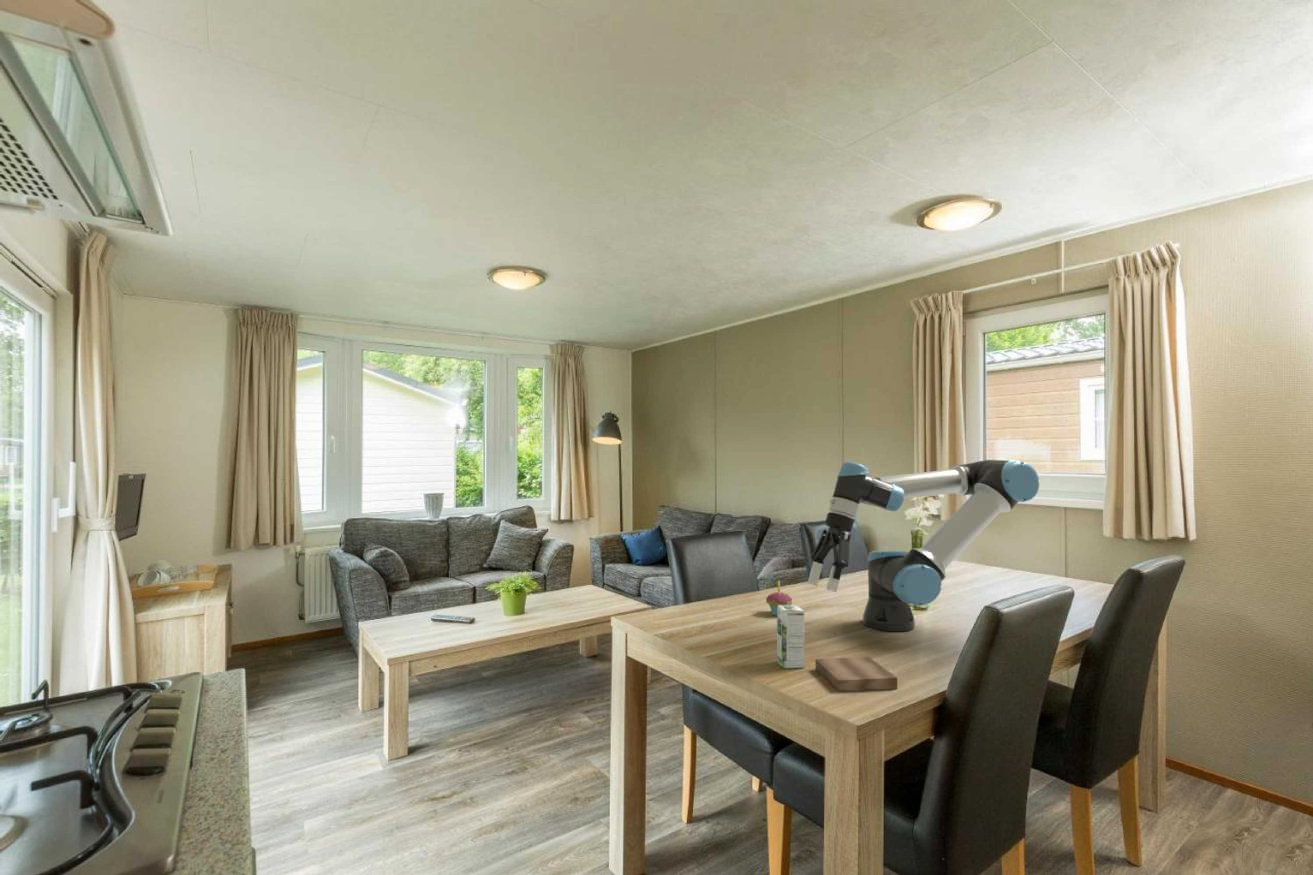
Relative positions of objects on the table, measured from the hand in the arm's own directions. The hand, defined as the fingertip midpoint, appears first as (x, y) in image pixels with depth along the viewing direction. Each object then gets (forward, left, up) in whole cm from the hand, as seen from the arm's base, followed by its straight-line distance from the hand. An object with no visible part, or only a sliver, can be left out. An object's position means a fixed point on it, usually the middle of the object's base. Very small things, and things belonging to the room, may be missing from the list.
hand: (821, 587), depth 170 cm
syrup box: (+14, +14, -16) cm, 26 cm away
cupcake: (+2, -32, -16) cm, 36 cm away
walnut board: (+2, +25, -16) cm, 30 cm away
